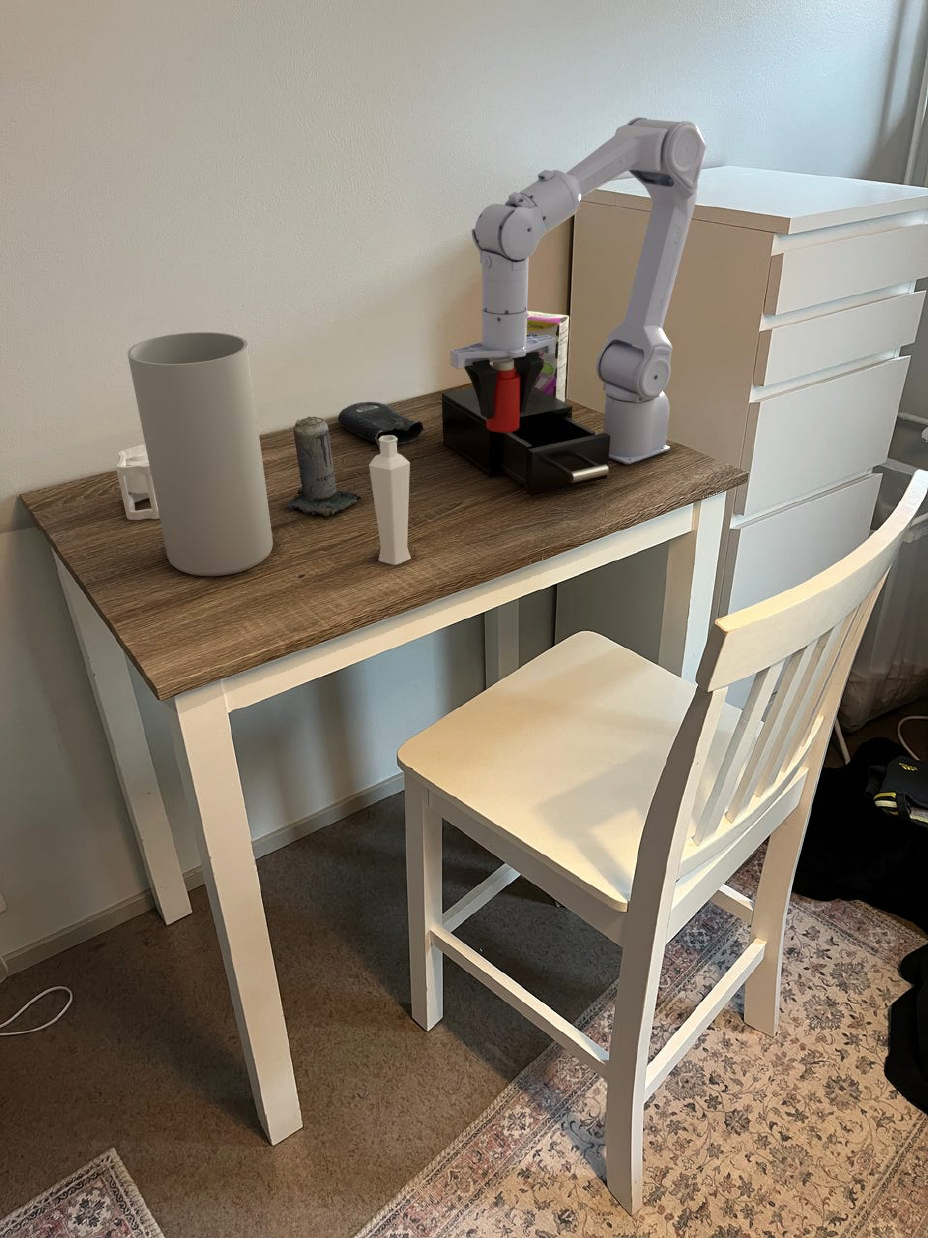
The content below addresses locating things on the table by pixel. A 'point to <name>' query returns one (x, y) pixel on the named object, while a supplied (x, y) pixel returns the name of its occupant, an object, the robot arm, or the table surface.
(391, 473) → the white faceted vase
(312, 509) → the beverage can
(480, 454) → the cabinet
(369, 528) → the table surface
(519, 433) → the drawer
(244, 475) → the cylinder vase
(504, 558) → the table surface
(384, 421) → the black crumpled pouch
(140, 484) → the white hollow box frame
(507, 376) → the sauce bottle
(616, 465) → the table surface
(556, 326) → the candy bar box
